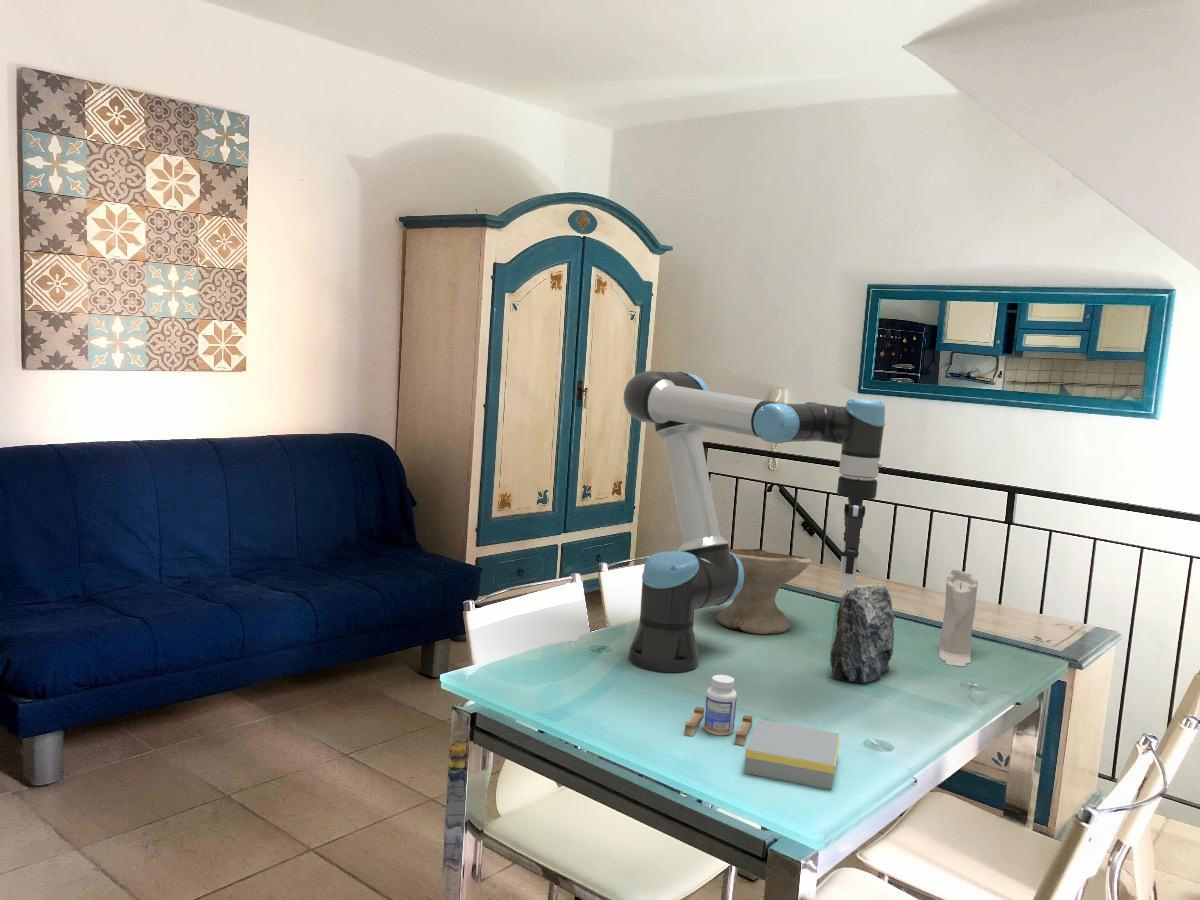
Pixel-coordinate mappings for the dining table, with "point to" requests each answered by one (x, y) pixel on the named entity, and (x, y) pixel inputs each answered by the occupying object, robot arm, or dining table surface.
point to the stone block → (863, 634)
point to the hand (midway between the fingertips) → (846, 581)
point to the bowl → (761, 591)
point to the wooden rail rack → (698, 716)
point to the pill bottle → (720, 706)
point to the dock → (792, 754)
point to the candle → (958, 618)
